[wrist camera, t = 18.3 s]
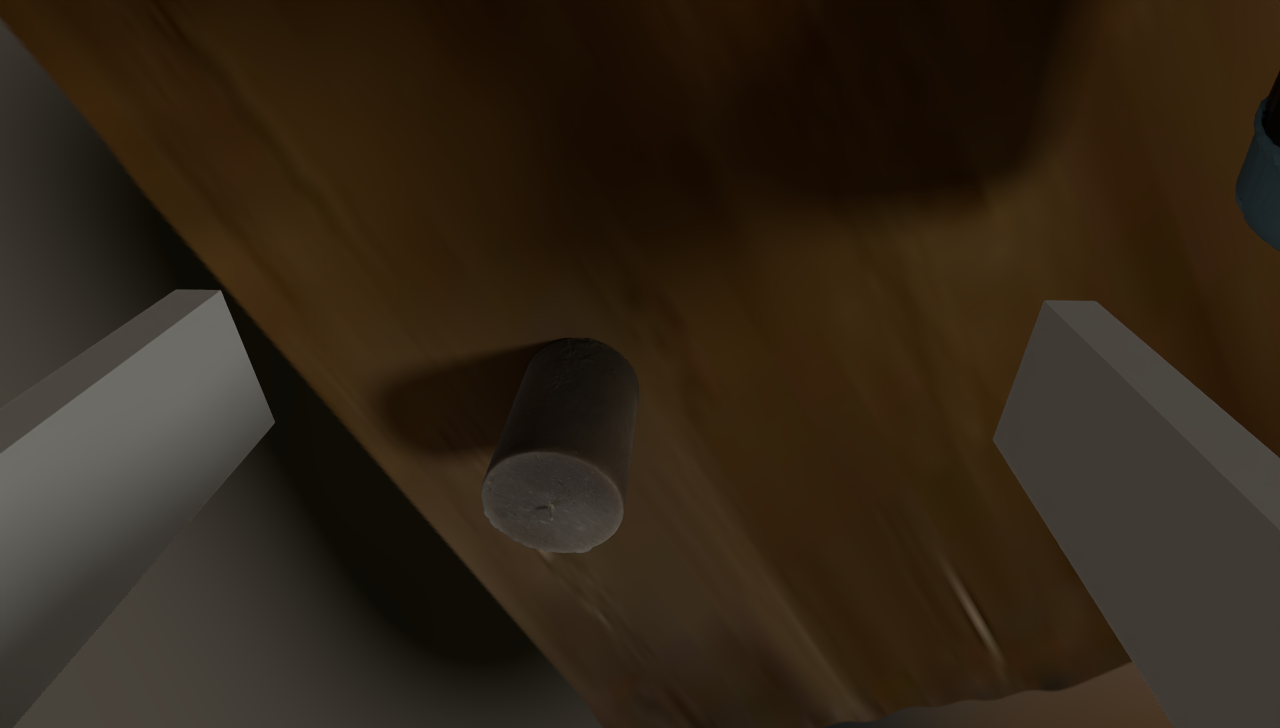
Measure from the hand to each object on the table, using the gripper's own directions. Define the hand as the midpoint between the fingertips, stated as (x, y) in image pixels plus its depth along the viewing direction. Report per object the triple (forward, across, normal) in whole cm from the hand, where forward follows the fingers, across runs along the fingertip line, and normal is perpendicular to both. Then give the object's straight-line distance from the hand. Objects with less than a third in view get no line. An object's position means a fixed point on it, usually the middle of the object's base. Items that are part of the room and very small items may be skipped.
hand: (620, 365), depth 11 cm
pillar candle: (+35, -7, -25) cm, 43 cm away
